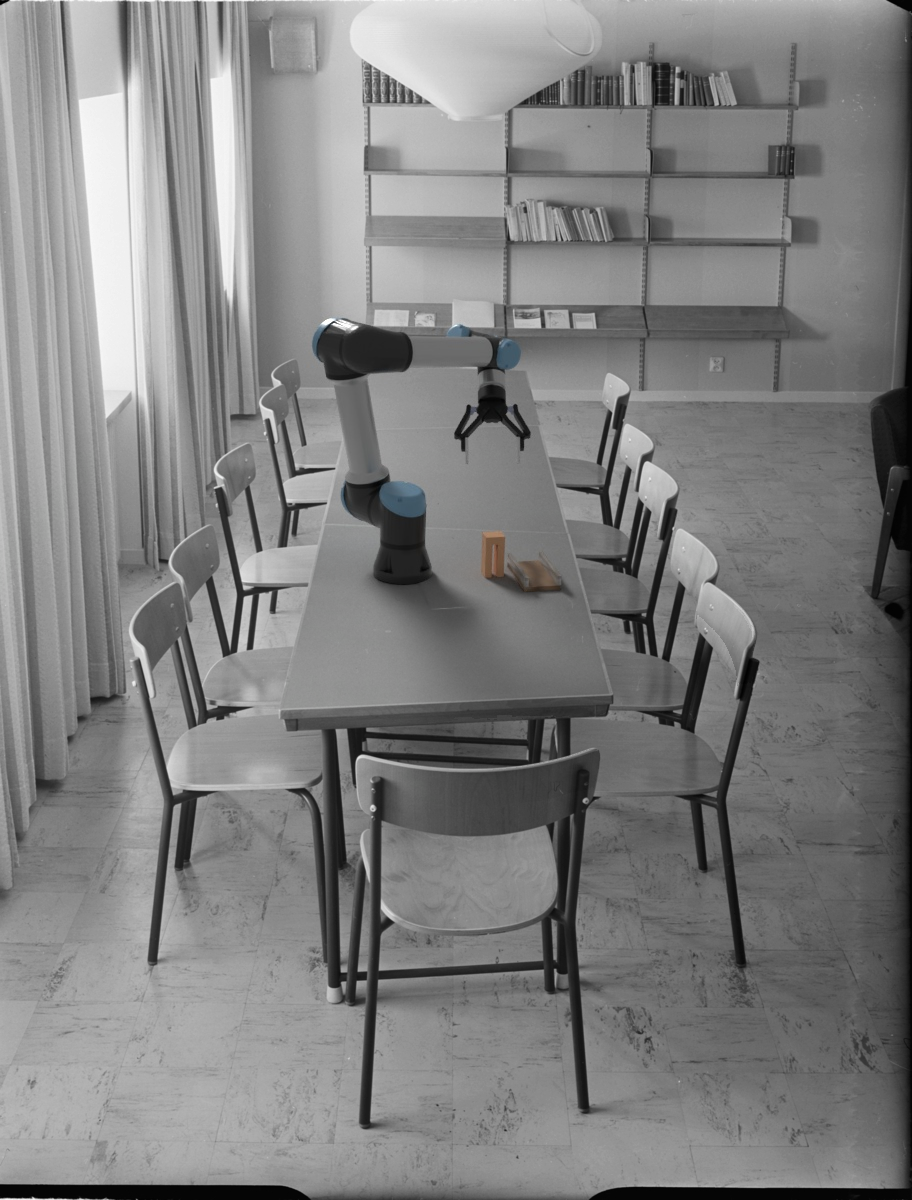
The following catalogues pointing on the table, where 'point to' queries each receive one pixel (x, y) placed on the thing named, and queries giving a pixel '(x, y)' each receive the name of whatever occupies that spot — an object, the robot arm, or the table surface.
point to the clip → (499, 552)
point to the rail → (535, 573)
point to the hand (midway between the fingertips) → (492, 461)
